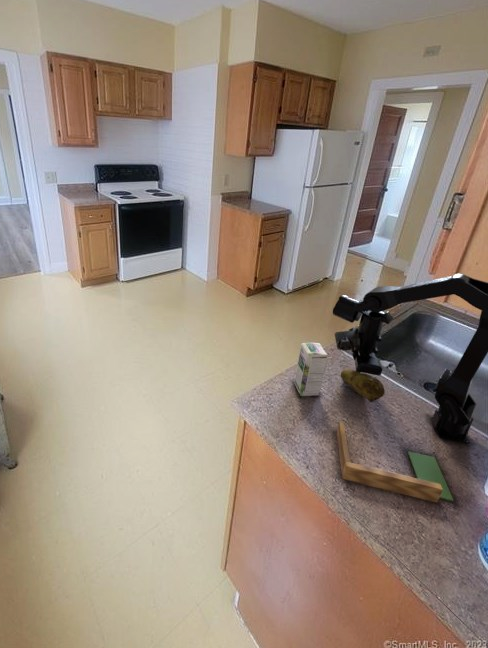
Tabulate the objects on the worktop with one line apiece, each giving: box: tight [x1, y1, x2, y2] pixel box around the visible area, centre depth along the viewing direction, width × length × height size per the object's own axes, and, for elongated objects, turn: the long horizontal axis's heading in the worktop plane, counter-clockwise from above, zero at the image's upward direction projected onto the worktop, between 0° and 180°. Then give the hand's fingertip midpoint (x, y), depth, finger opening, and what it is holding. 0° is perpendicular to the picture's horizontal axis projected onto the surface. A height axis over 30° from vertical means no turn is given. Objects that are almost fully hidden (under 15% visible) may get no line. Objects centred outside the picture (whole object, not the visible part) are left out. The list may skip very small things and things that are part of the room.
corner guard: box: [335, 421, 443, 503], centre depth 72 cm, size 18×12×4 cm
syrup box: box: [293, 342, 329, 397], centre depth 92 cm, size 6×6×14 cm
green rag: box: [407, 451, 454, 502], centre depth 71 cm, size 6×10×1 cm, turn 165°
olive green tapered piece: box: [340, 368, 386, 403], centre depth 92 cm, size 8×13×8 cm, turn 1°
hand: (357, 372), depth 98 cm, fingers closed
